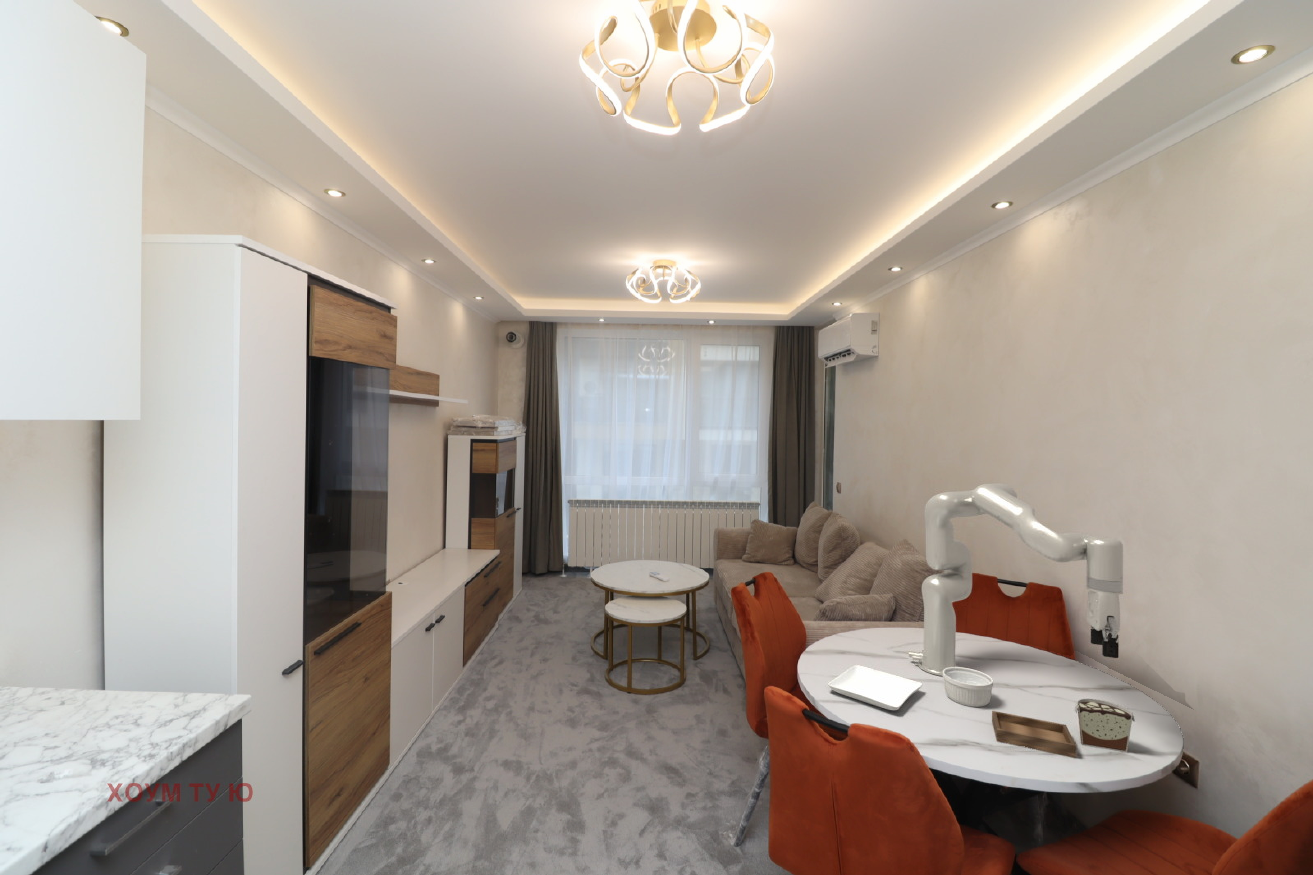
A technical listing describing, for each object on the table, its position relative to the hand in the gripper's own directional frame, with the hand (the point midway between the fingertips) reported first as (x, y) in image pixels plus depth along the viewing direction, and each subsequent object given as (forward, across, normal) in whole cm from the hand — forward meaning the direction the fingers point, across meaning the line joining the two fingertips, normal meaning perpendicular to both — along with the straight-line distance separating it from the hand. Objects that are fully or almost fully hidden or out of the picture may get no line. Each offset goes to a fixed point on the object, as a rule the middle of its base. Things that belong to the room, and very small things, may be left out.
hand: (1104, 650), depth 148 cm
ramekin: (+22, -8, -31) cm, 39 cm away
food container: (+22, +4, -2) cm, 23 cm away
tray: (+22, +10, -18) cm, 30 cm away
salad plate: (+22, 0, -56) cm, 60 cm away
